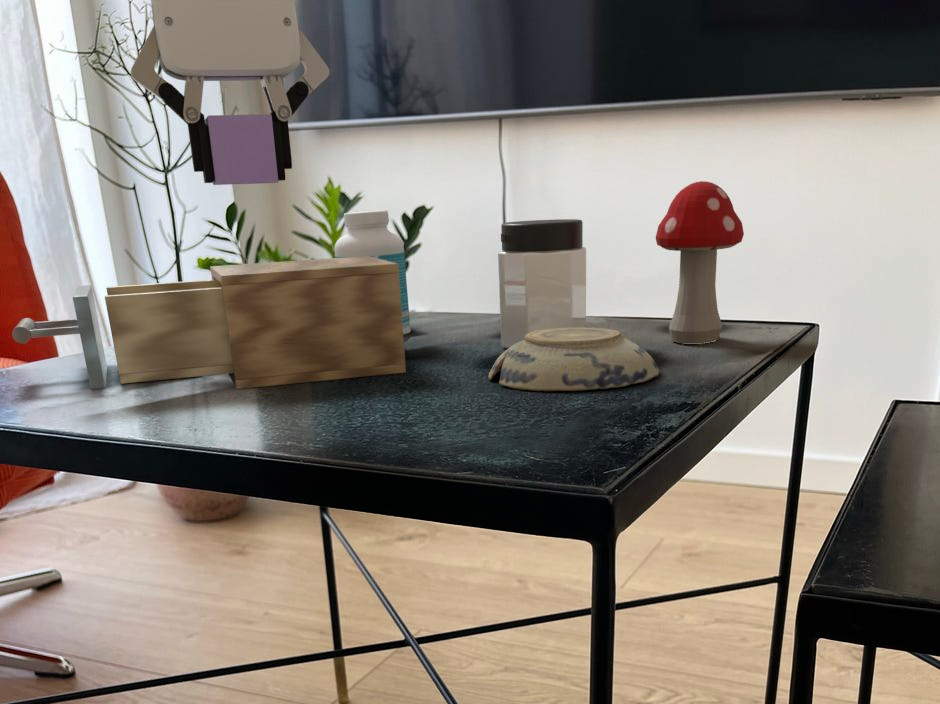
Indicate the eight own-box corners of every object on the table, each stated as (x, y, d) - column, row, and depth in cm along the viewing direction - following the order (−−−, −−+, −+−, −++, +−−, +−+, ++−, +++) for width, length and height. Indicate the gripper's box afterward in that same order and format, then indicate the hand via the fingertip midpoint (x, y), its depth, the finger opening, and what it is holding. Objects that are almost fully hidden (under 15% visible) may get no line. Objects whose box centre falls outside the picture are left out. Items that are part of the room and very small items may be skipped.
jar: (523, 338, 111) (520, 220, 106) (594, 339, 108) (594, 218, 103) (490, 351, 104) (485, 225, 99) (565, 353, 100) (564, 223, 96)
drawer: (23, 398, 86) (1, 302, 83) (33, 376, 96) (14, 290, 93) (260, 375, 91) (248, 284, 88) (247, 357, 101) (236, 275, 98)
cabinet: (236, 389, 91) (220, 275, 87) (224, 368, 101) (210, 266, 98) (406, 372, 95) (398, 263, 91) (376, 353, 106) (368, 255, 102)
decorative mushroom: (661, 333, 110) (665, 182, 104) (742, 333, 108) (751, 178, 102) (644, 347, 102) (648, 184, 96) (732, 348, 99) (742, 180, 93)
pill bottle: (401, 336, 117) (392, 209, 111) (418, 344, 110) (409, 209, 105) (337, 342, 115) (325, 212, 109) (351, 351, 108) (338, 213, 102)
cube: (216, 184, 76) (207, 115, 74) (212, 184, 80) (204, 119, 78) (278, 182, 77) (271, 114, 75) (271, 182, 81) (265, 118, 79)
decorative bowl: (695, 374, 88) (581, 354, 99) (697, 330, 86) (581, 315, 98) (562, 403, 80) (455, 377, 91) (562, 355, 79) (453, 335, 90)
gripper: (323, -89, 76) (345, 178, 83) (85, -97, 72) (130, 185, 79) (340, -116, 69) (362, 177, 77) (79, -126, 65) (129, 185, 73)
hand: (244, 178), depth 78 cm, fingers closed on cube, 4 cm apart
